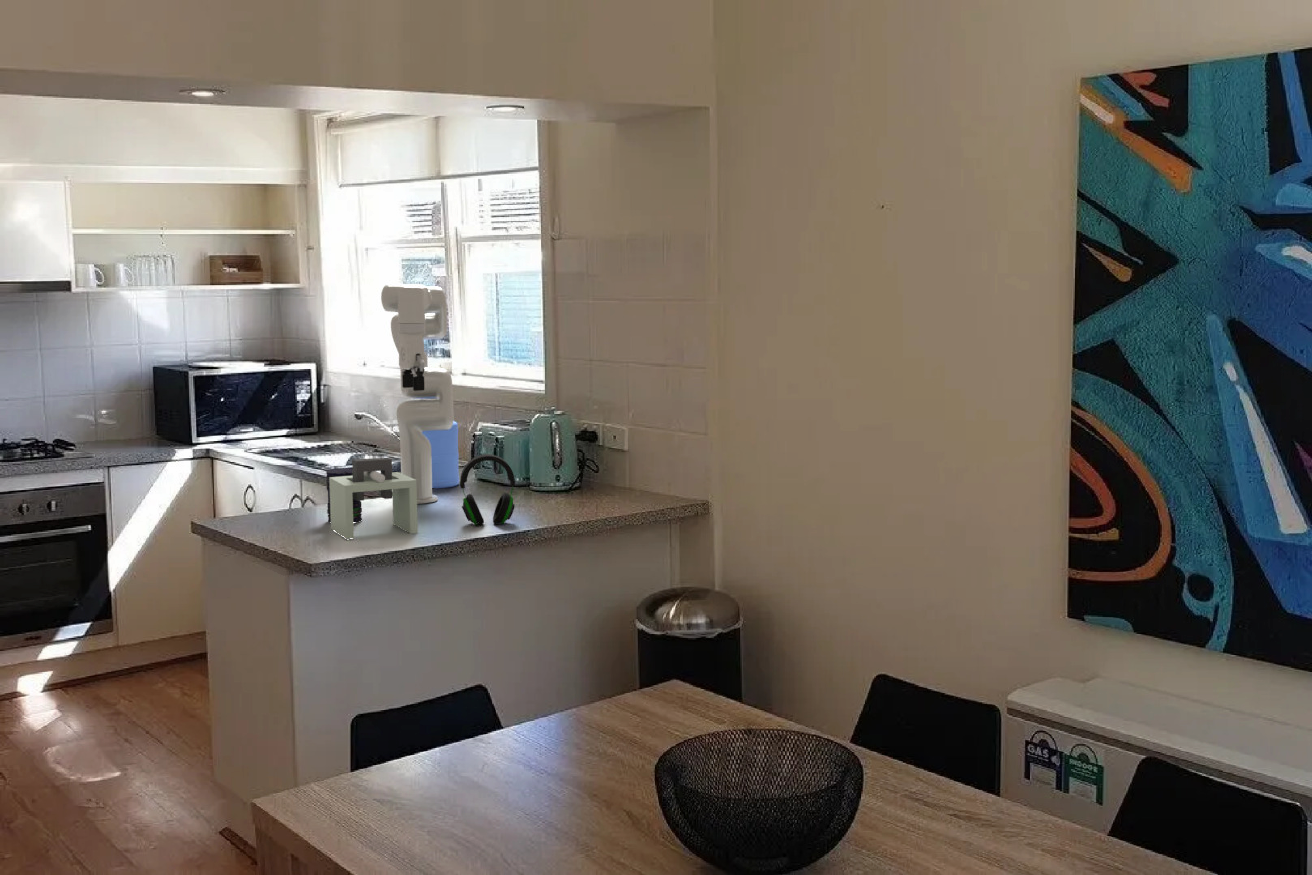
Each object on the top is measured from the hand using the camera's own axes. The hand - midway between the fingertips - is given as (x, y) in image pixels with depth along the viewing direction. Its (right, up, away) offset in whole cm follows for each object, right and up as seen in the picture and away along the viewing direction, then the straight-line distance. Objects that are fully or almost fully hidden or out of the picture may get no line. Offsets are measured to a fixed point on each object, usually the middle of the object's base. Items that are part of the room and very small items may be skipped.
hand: (413, 389), depth 403 cm
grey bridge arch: (-9, -31, -13) cm, 35 cm away
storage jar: (-20, -39, +3) cm, 44 cm away
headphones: (+22, -39, -2) cm, 45 cm away
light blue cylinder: (-4, -30, +66) cm, 72 cm away
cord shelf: (-9, -40, -12) cm, 43 cm away
